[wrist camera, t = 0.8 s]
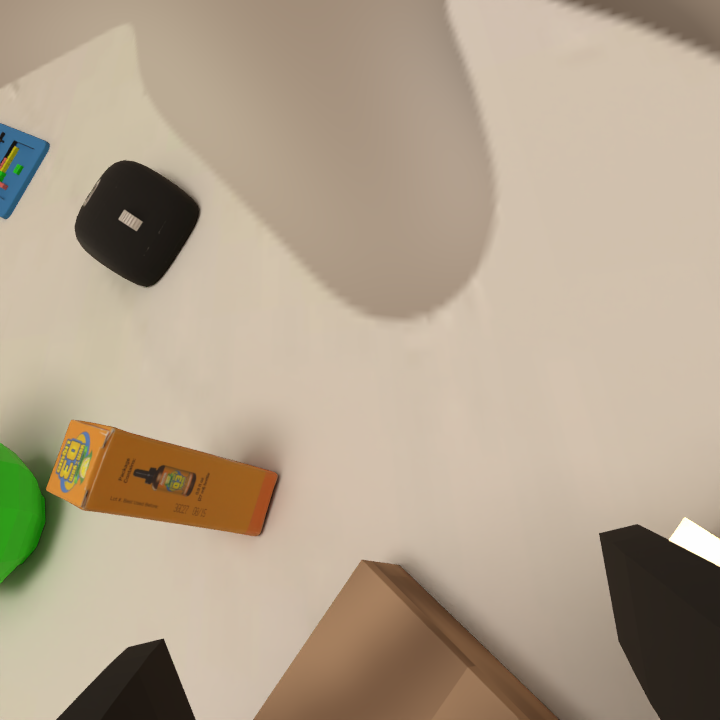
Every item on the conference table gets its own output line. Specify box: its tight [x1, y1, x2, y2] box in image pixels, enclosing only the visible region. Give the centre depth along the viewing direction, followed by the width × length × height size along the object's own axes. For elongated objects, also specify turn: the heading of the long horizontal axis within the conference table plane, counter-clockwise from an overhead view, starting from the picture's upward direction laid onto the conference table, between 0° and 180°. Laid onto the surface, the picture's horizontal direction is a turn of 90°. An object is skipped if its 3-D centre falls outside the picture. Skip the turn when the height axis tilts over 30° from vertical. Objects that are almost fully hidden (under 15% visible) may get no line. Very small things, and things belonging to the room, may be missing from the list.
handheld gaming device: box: [0, 123, 50, 219], centre depth 64 cm, size 8×1×15 cm
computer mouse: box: [75, 160, 198, 287], centre depth 45 cm, size 8×12×4 cm, turn 50°
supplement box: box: [46, 420, 278, 536], centre depth 29 cm, size 3×3×10 cm
